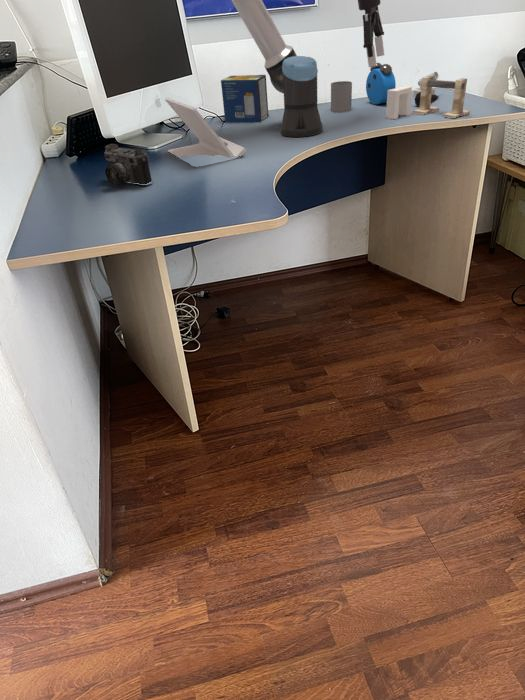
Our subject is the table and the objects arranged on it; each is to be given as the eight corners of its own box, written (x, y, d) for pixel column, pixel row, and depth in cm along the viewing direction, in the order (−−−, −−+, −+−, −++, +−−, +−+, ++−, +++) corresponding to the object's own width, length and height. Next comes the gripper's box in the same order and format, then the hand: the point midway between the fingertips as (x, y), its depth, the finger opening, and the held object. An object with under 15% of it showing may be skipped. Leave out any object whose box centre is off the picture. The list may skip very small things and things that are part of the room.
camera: (93, 184, 155) (84, 149, 149) (118, 175, 161) (110, 141, 155) (132, 193, 146) (124, 156, 140) (157, 184, 151) (150, 148, 145)
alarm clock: (394, 105, 215) (397, 63, 207) (382, 107, 214) (384, 65, 205) (376, 100, 225) (378, 61, 217) (364, 102, 224) (365, 63, 215)
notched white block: (394, 119, 195) (396, 91, 189) (385, 118, 197) (387, 90, 192) (409, 114, 199) (411, 87, 194) (400, 113, 202) (402, 86, 196)
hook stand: (453, 119, 188) (458, 82, 182) (412, 113, 200) (414, 78, 193) (469, 113, 193) (474, 77, 186) (427, 108, 205) (431, 74, 198)
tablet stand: (195, 168, 161) (186, 109, 152) (167, 152, 180) (158, 98, 170) (247, 157, 168) (242, 99, 158) (215, 142, 186) (208, 90, 176)
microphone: (432, 106, 223) (413, 109, 209) (430, 91, 222) (411, 93, 208) (445, 102, 220) (426, 105, 206) (443, 87, 218) (424, 89, 204)
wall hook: (431, 73, 215) (411, 72, 222) (429, 98, 221) (409, 96, 227) (444, 70, 219) (423, 69, 226) (441, 95, 225) (421, 93, 231)
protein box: (234, 116, 220) (230, 75, 211) (269, 116, 215) (266, 74, 206) (224, 122, 212) (219, 79, 203) (260, 122, 207) (256, 79, 198)
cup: (328, 112, 213) (328, 85, 207) (332, 108, 219) (332, 81, 213) (349, 112, 211) (350, 84, 205) (352, 107, 217) (353, 81, 211)
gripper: (370, -2, 172) (379, 68, 184) (386, -16, 188) (393, 49, 201) (348, 4, 175) (358, 72, 188) (365, -10, 192) (374, 53, 204)
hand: (376, 61), depth 194 cm, fingers open, 13 cm apart
